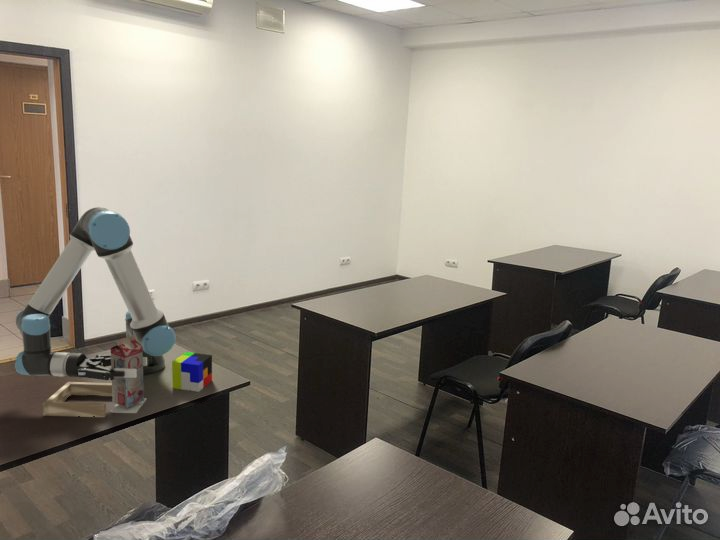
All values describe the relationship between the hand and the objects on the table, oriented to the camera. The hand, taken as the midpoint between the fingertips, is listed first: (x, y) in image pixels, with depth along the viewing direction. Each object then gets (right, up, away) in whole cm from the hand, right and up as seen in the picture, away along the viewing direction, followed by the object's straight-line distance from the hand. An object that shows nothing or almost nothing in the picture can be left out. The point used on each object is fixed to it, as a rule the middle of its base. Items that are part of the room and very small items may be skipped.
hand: (141, 367), depth 174 cm
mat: (-5, -13, +3) cm, 14 cm away
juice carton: (-5, -12, +2) cm, 13 cm away
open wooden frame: (-19, -12, +2) cm, 23 cm away
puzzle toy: (+10, -10, +21) cm, 25 cm away
